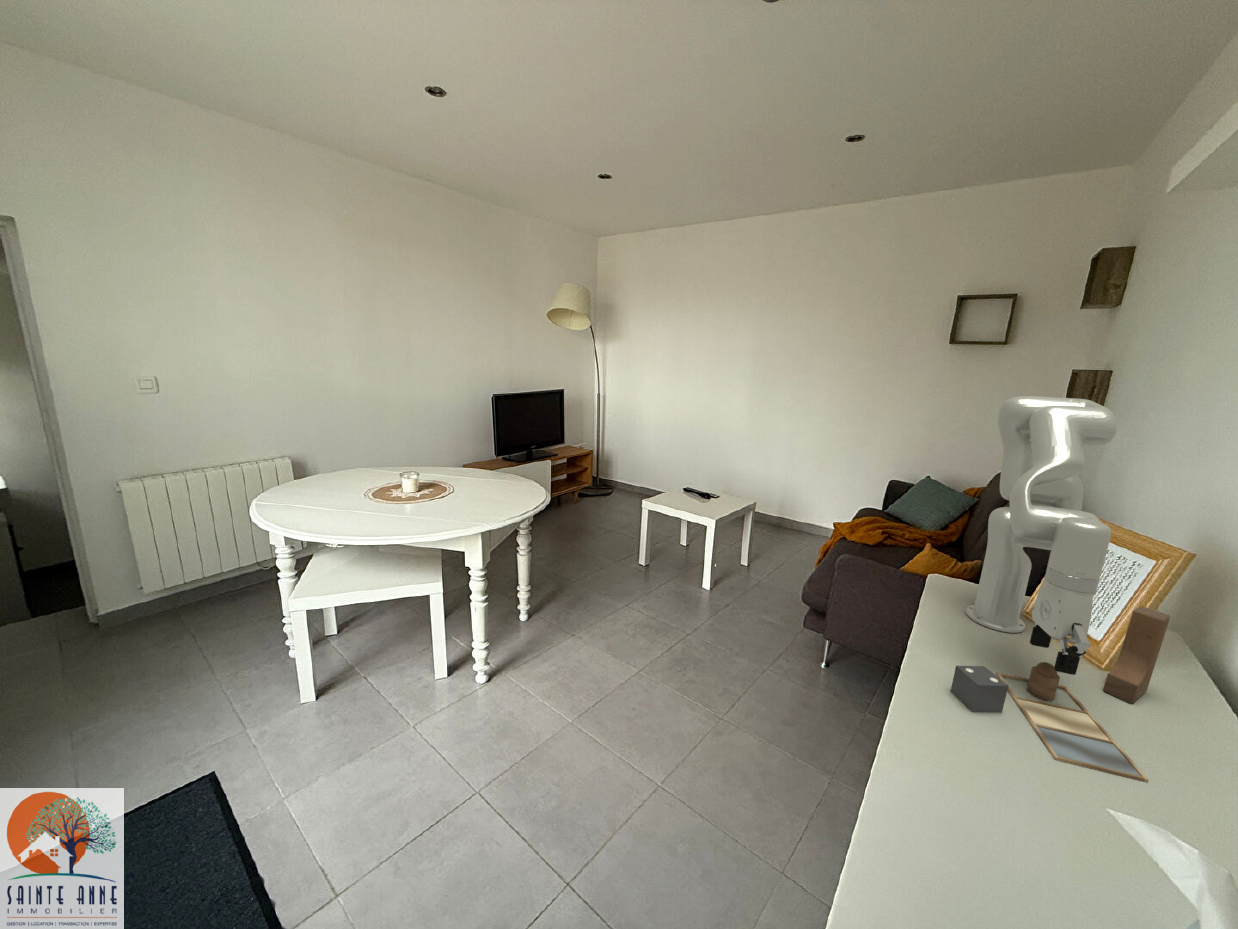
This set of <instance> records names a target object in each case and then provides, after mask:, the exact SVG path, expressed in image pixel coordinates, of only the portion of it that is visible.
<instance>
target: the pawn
mask: <svg viewBox="0 0 1238 929" xmlns="http://www.w3.org/2000/svg"><path fill="white" fill-rule="evenodd" d="M1054 666H1055V665H1053V664H1052V663H1050V662H1046V661H1042V662H1038V663H1037V664H1036V666H1034V665H1033V666H1032V667H1031V669H1030V672H1029V673H1030V674H1029V677H1028V679H1029V681H1028V682H1027V684H1026V685H1027V686H1026V691H1027V693H1028V694H1029V695H1030V696H1032V697H1034V698H1035V699H1036V698H1037V699H1039V700H1040V701H1043V702H1054V700H1055V698H1056V694H1057V690H1058V688H1057V687H1058V685H1060V681H1061V680H1060V679H1061V677H1060V675H1059V674H1058V672H1057V671H1056V670H1055V669H1054Z"/></svg>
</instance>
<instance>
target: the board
mask: <svg viewBox="0 0 1238 929" xmlns="http://www.w3.org/2000/svg"><path fill="white" fill-rule="evenodd" d="M995 675H996V676H997V677H998V678H1000V679H1001V680H1002V681H1003V682H1004V683H1006V684H1007V685H1008V683H1007V682H1006V680H1005V679H1004V678H1007V679H1012V680H1016V681H1022V682H1027V683H1028V681H1029V678H1026V677H1022V676H1017V675H1012V674H1007V673H1002V672H998V671H997V672H995ZM1057 689H1061V690H1064V691H1065V692H1066V693H1067V694H1068V696H1069V697H1070V698H1071V699H1072V700H1073V701H1074V703H1075V704H1076V705H1077V706H1078V708H1080V709H1077V708H1073V707H1067V706H1064V705H1063V706H1062V705H1058V704H1054V703H1050V702H1049V703H1048V702H1046V701H1041V700H1035V699H1030V698H1024V697H1021V696H1016V695H1015V694H1014V692H1013V690H1012V689H1011V687H1010V686H1009V685H1008V690H1007V693H1009V695H1010V696H1011V698H1012V700H1013V701H1014V702H1015V704H1016V706H1017V707H1018V708H1019V710H1020V711H1021V713H1022V714H1023V716H1024V717H1025V718H1026V720H1027V722H1028V723H1029V724H1030V726H1031V727H1032V729H1033V730H1034V731H1035V733H1036V735H1037V736H1038V737H1039V739H1040V740H1041V742H1042V743H1043V745H1044V746H1045V747H1046V749H1047V750H1048V752H1049V753H1050V755H1051V757H1052V758H1053V759H1054V760H1055V761H1059V762H1063V763H1067V764H1071V765H1076V766H1080V767H1082V768H1083V767H1084V768H1088V769H1092V770H1096V771H1100V772H1104V773H1108V774H1112V775H1116V776H1120V777H1125V778H1128V779H1133V780H1137V781H1141V782H1145V783H1149V781H1150V780H1149V778H1148V777H1147V776H1146V775H1145V774H1144V773H1143V771H1142V770H1141V769H1140V768H1139V767H1138V766H1137V765H1136V763H1134V761H1133V759H1131V758H1130V757H1129V756H1128V754H1126V752H1125V751H1124V750H1123V749H1122V747H1121V746H1120V745H1119V744H1118V743H1117V742H1116V741H1115V739H1113V737H1112V736H1111V735H1110V734H1109V733H1108V731H1106V730H1105V729H1104V727H1103V726H1102V725H1101V724H1100V723H1099V721H1098V720H1097V719H1096V718H1095V717H1094V716H1093V715H1092V714H1091V713H1090V712H1089V710H1088V709H1087V708H1086V707H1085V706H1084V705H1083V703H1082V702H1081V701H1080V699H1078V698H1077V696H1075V694H1074V693H1073V692H1072V691H1071V690H1070V688H1069V687H1068V686H1066V685H1060V684H1058V687H1057Z"/></svg>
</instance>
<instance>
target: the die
mask: <svg viewBox="0 0 1238 929" xmlns="http://www.w3.org/2000/svg"><path fill="white" fill-rule="evenodd" d="M1006 683H1007V682H1006ZM1006 683H1004V682H1003V681H1002V680H1001V679H1000V678H998V676H997V675H996V673H993V672H992V671H991V670H990V669H989V668H988V667H986V666H985V665H984V666H983V665H955V668H954V674H953V678H952V683H951V688H950V692H951V693H952V694H953V695H954V696H955V697H956V698H957V699H958V700H959V701H960V702H962V704H963V705H964V706H965V707H966V708H967V709H968V710H969V711H970V712H972V713H1003V711H1004V710H1003V709H1004V705H1005V703H1006V702H1005V701H1006V699H1007V693H1008V691H1007V690H1008V686H1009V684H1008V683H1007V684H1006Z"/></svg>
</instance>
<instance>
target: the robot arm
mask: <svg viewBox="0 0 1238 929" xmlns="http://www.w3.org/2000/svg"><path fill="white" fill-rule="evenodd" d="M998 412H999V413H998V416H997V417H998V419H997V421H998V422H997V423H998V424H997V425H998V431H999V435H1000V439H1001V443H1002V459H1001V460H1002V462H1001V468H1000V478H999V494H1000V495H1001V497H1002V498H1003V499H1004V500H1007V501H1009V506H1003V507H1002V506H1001V507H997V508H995V509H994V510H992V511H991V513H990V514H989V516H988V517H989V518H988V524H987V527H988V528H987V543H986V544H987V546H986V551H985V556H984V561H983V564H982V569H981V574H980V578H979V583H978V587H977V593H976V596H975V601H974V604H972V605H971V604H970V605H968V606H967V607H966V608H965V614H966V615H967V617H968V618H970V619H971V620H972V621H973V622H976V623H977V624H980V625H981V626H984V627H986V628H989V629H992V630H995V631H999V632H1003V633H1010V634H1013V633H1014V634H1015V633H1016V634H1019V633H1022V632H1024V631H1025V629H1026V624H1025V622H1024V621H1023V620H1022V619H1021V618H1020V616H1021V611H1022V607H1023V603H1024V599H1025V595H1026V591H1027V587H1028V583H1029V580H1030V575H1031V570H1032V561H1031V558H1030V557H1029V556H1028V554H1027V553H1026V552H1025V551H1024V549H1023V548H1025V547H1026V548H1035V549H1041V550H1048V551H1050V553H1049V557H1048V562H1047V567H1046V571H1045V574H1044V579H1043V581H1042V583H1041V585H1040V588H1039V590H1038V592H1037V595H1036V599H1035V601H1034V605H1033V608H1032V612H1031V618H1032V620H1033V622H1032V630H1031V636H1030V639H1029V644H1030V645H1031V646H1035V647H1041V648H1046V649H1049V648H1050V645H1051V640H1052V639H1053V640H1059V646H1060V651H1059V650H1057V651H1058V652H1057V655H1056V658H1055V659H1056V660H1055V663H1054V665H1053V666H1054V669H1055V670H1056V671H1057V673H1062V674H1067V675H1072V676H1074V675H1076V674H1077V671H1078V667H1079V663H1080V659H1082V658H1083V657H1084V655H1086V653H1087V650H1089V649H1090V646H1091V643H1090V641H1089V639H1088V632H1089V628H1090V623H1091V619H1092V612H1093V604H1094V602H1093V600H1094V596H1096V595H1097V591H1098V586H1099V582H1100V579H1101V575H1102V571H1103V567H1104V564H1105V561H1106V560H1105V559H1106V556H1107V552H1108V549H1109V546H1110V541H1111V537H1112V529H1111V527H1110V526H1109V525H1108V524H1106V523H1104V522H1101V520H1100V518H1099V517H1098V516H1096V515H1095V514H1093V513H1091V512H1089V511H1088V512H1087V511H1084V510H1082V508H1083V502H1084V501H1083V497H1084V485H1083V482H1082V480H1081V478H1080V476H1079V475H1080V474H1081V473H1082V472H1083V471H1084V470H1085V468H1086V460H1085V453H1084V448H1083V447H1084V446H1083V445H1088V446H1089V445H1090V446H1105V445H1107V444H1109V443H1110V442H1112V441H1113V439H1114V438H1115V437H1116V435H1117V431H1118V423H1117V422H1118V421H1117V418H1116V417H1115V414H1114V413H1113V412H1112V411H1111V410H1110V409H1109V408H1108V407H1105V406H1103V405H1101V404H1099V403H1097V402H1095V401H1093V400H1090V399H1086V398H1074V397H1073V398H1072V397H1071V398H1070V397H1052V396H1041V395H1040V396H1037V395H1025V396H1022V395H1021V396H1015V397H1011V398H1008V399H1006V400H1005V401H1004V402H1003V403H1002V405H1001V407H1000V409H999V411H998ZM1068 643H1069V644H1073V645H1071V646H1069V647H1068Z"/></svg>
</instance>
